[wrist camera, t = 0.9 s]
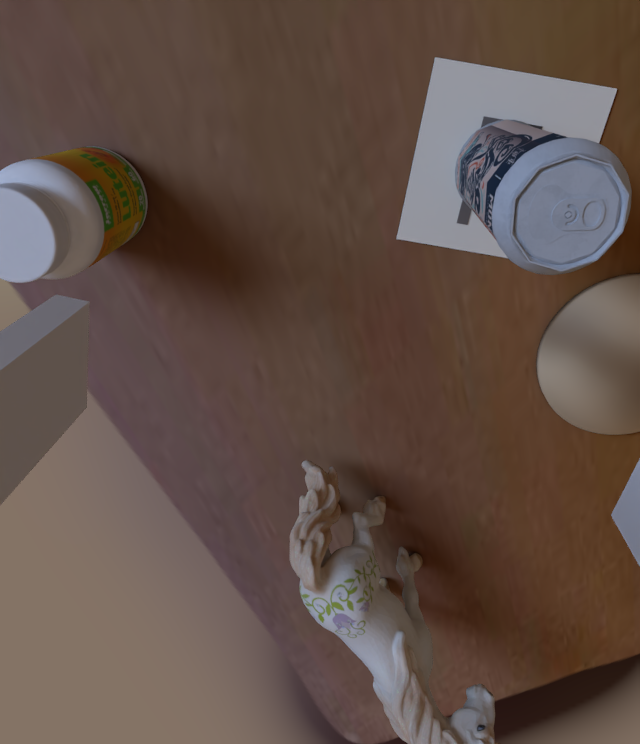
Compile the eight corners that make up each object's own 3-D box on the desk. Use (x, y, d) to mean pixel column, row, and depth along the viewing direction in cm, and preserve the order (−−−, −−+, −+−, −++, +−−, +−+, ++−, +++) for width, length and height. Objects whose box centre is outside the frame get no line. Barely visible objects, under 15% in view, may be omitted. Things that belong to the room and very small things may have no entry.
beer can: (455, 120, 31) (502, 143, 20) (553, 116, 30) (654, 136, 19) (451, 217, 33) (491, 285, 22) (542, 214, 32) (629, 281, 22)
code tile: (435, 57, 30) (435, 57, 29) (616, 88, 30) (617, 88, 30) (396, 238, 34) (396, 239, 33) (556, 266, 34) (557, 266, 33)
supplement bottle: (170, 207, 34) (100, 252, 25) (103, 262, 35) (16, 322, 27) (101, 123, 32) (0, 139, 23) (34, 185, 34) (-82, 222, 25)
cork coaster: (568, 258, 33) (571, 262, 33) (747, 290, 33) (754, 293, 33) (515, 414, 38) (517, 419, 37) (673, 441, 38) (677, 447, 37)
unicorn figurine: (450, 640, 47) (478, 834, 35) (249, 500, 42) (202, 667, 30) (521, 589, 44) (579, 781, 32) (315, 434, 39) (291, 589, 27)
